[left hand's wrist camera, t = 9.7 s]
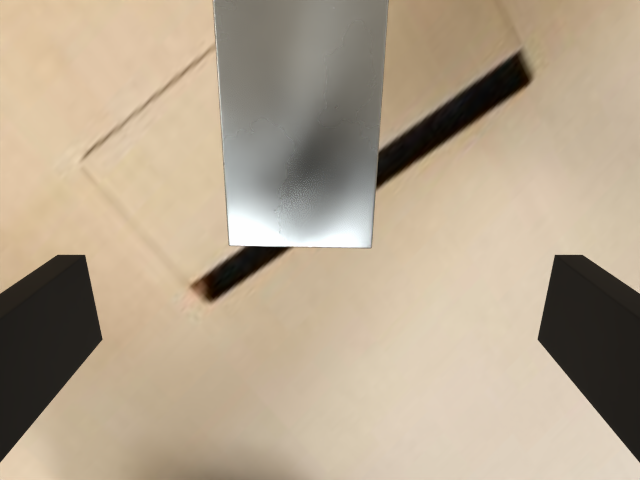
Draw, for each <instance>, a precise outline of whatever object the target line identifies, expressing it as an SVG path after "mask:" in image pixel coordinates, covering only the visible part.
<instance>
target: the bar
mask: <svg viewBox="0 0 640 480" xmlns="http://www.w3.org/2000/svg"><path fill="white" fill-rule="evenodd" d="M388 3H389V0H213V14H214V29H215V44H216V59H217V75H218V90H219V105H220V120H221V136H222V151H223V166H224V181H225V197H226V212H227V227H228V242H229V246H265V247H321V248H372V238H373V223H374V208H375V194H376V179H377V164H378V150H379V135H380V120H381V106H382V91H383V76H384V62H385V47H386V32H387V17H388Z"/></svg>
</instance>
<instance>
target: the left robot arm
mask: <svg viewBox="0 0 640 480" xmlns="http://www.w3.org/2000/svg"><path fill="white" fill-rule="evenodd" d="M101 341H102V335H101V330H100V325H99V321H98V316H97V311H96V306H95V301H94V296H93V291H92V287H91V282H90V277H89V272H88V267H87V262H86V257H85V255H57V256H55V257H54V258H52V259H51V260H49V261H48V262H46V263H45V264H43V265H42V266H41V267H39V268H38V269H36V270H35V271H33V272H32V273H30V274H29V275H27V276H26V277H24V278H23V279H21V280H20V281H18V282H17V283H15V284H14V285H12V286H11V287H10V288H8V289H7V290H5V291H4V292H2V293H1V294H0V462H1V461H2V460H3V459H4V457H5V456H6V455H7V454H8V453H9V451H10V450H11V449H12V448H13V447H14V445H15V444H16V443H17V442H18V441H19V439H20V438H21V437H22V436H23V434H24V433H25V432H26V431H27V430H28V428H29V427H30V426H31V425H32V424H33V422H34V421H35V420H36V419H37V418H38V416H39V415H40V414H41V413H42V412H43V410H44V409H45V408H46V407H47V406H48V404H49V403H50V402H51V401H52V400H53V398H54V397H55V396H56V395H57V394H58V392H59V391H60V390H61V389H62V388H63V386H64V385H65V384H66V383H67V381H68V380H69V379H70V378H71V377H72V375H73V374H74V373H75V372H76V371H77V369H78V368H79V367H80V366H81V365H82V363H83V362H84V361H85V360H86V359H87V357H88V356H89V355H90V354H91V353H92V351H93V350H94V349H95V348H96V347H97V345H98V344H99V343H100V342H101ZM538 341H539V342H540V343H541V344H542V345H543V347H544V348H545V349H546V350H547V351H548V353H549V354H550V355H551V356H552V357H553V359H554V360H555V361H556V362H557V363H558V365H559V366H560V367H561V368H562V369H563V371H564V372H565V373H566V374H567V375H568V377H569V378H570V379H571V380H572V381H573V383H574V384H575V385H576V386H577V388H578V389H579V390H580V391H581V392H582V394H583V395H584V396H585V397H586V398H587V400H588V401H589V402H590V403H591V404H592V406H593V407H594V408H595V409H596V410H597V412H598V413H599V414H600V415H601V416H602V418H603V419H604V420H605V421H606V422H607V424H608V425H609V426H610V427H611V428H612V430H613V431H614V432H615V433H616V434H617V436H618V437H619V438H620V439H621V441H622V442H623V443H624V444H625V445H626V447H627V448H628V449H629V450H630V451H631V453H632V454H633V455H634V456H635V457H636V459H637V460H638V461H639V462H640V294H639V293H638V292H636V291H635V290H633V289H632V288H630V287H629V286H628V285H626V284H625V283H623V282H622V281H620V280H619V279H617V278H616V277H614V276H613V275H611V274H610V273H608V272H607V271H605V270H604V269H602V268H601V267H599V266H598V265H597V264H595V263H594V262H592V261H591V260H589V259H588V258H586V257H585V256H583V255H555V257H554V262H553V267H552V272H551V277H550V282H549V287H548V291H547V296H546V301H545V306H544V311H543V316H542V321H541V325H540V330H539V335H538Z"/></svg>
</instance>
